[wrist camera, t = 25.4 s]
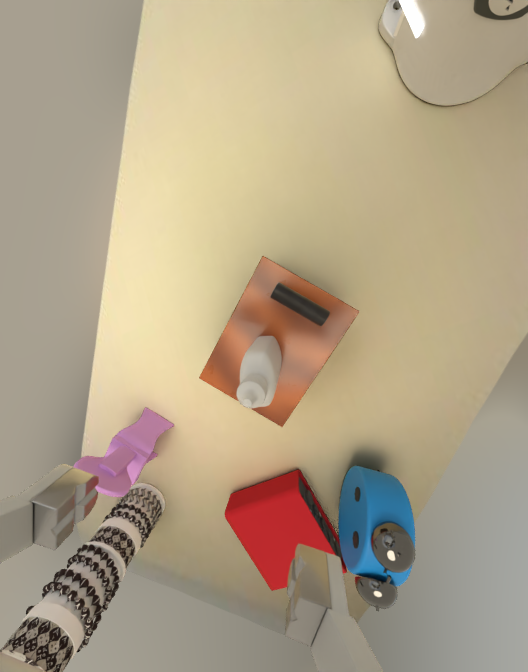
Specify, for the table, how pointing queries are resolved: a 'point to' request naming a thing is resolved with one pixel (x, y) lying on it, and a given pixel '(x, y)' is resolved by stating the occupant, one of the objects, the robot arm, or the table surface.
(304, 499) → the red device housing
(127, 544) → the decorative candle
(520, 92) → the table surface
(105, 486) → the toy chair
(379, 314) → the table surface
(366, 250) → the table surface
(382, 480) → the alarm clock
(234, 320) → the lid
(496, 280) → the table surface
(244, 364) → the eye dropper bottle
